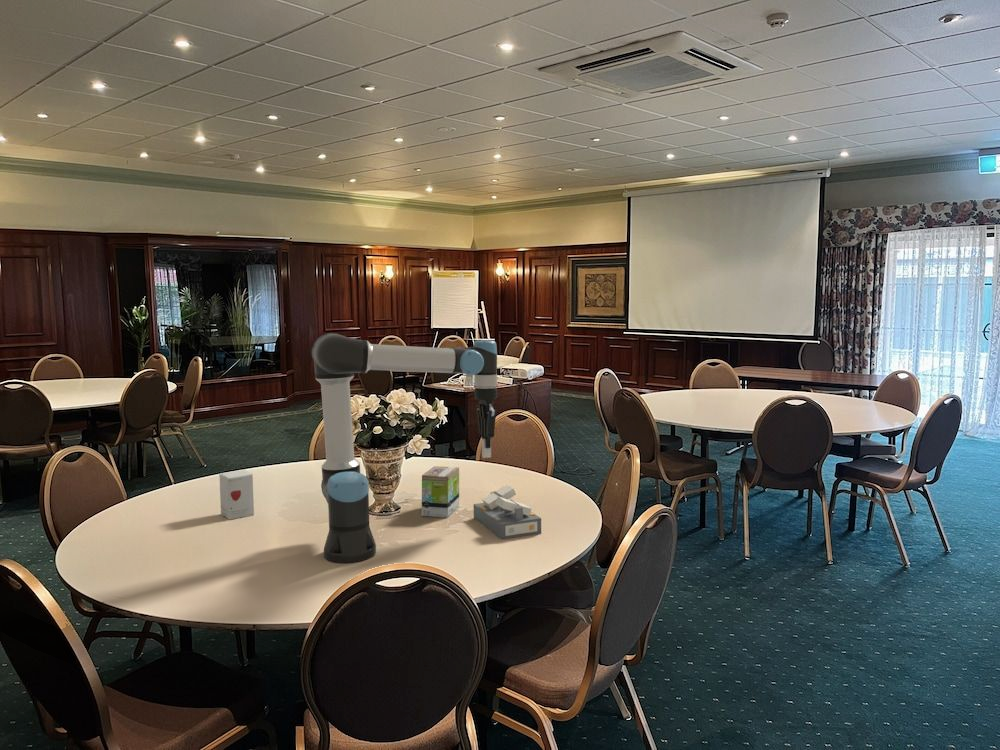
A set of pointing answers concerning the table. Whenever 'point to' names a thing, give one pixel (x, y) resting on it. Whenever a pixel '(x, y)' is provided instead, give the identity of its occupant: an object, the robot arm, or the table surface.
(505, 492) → the rocker
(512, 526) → the switch unit
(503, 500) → the rocker
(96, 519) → the table surface
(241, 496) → the supplement box
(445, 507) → the tea box
